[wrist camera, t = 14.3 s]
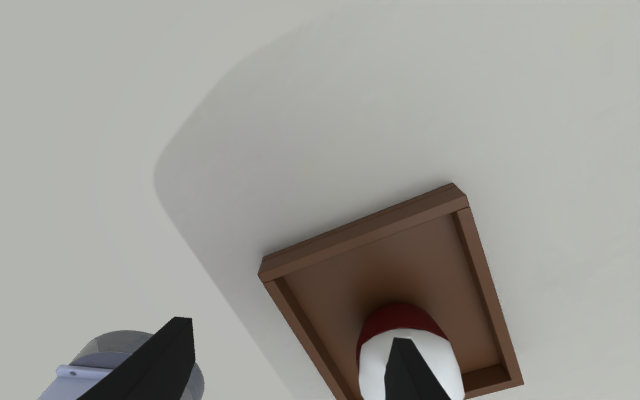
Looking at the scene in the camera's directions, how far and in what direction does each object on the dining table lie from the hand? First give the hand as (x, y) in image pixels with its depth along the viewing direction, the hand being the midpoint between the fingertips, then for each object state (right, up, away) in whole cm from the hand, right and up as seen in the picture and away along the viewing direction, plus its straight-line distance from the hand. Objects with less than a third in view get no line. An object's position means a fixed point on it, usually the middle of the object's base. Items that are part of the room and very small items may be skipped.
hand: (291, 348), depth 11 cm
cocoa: (+7, -3, +12) cm, 14 cm away
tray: (+7, -3, +12) cm, 14 cm away
